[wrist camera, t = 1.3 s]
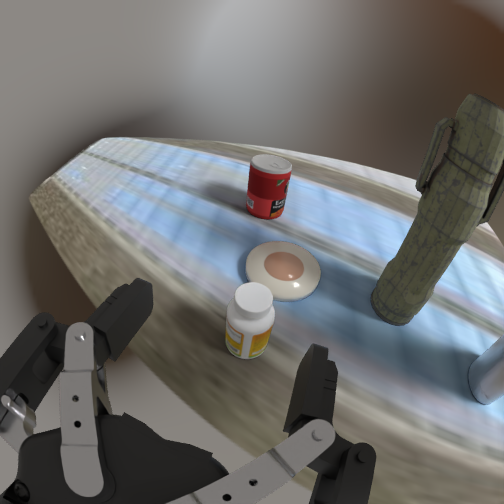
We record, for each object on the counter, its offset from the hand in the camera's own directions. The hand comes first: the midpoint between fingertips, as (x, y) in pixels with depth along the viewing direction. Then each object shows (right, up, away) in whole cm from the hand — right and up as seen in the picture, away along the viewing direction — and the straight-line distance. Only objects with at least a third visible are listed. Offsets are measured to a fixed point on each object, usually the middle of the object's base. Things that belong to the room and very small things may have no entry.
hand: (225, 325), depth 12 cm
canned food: (+4, +12, +45) cm, 47 cm away
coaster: (+6, 0, +32) cm, 33 cm away
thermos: (+25, -6, +29) cm, 39 cm away
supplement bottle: (0, -8, +22) cm, 24 cm away
